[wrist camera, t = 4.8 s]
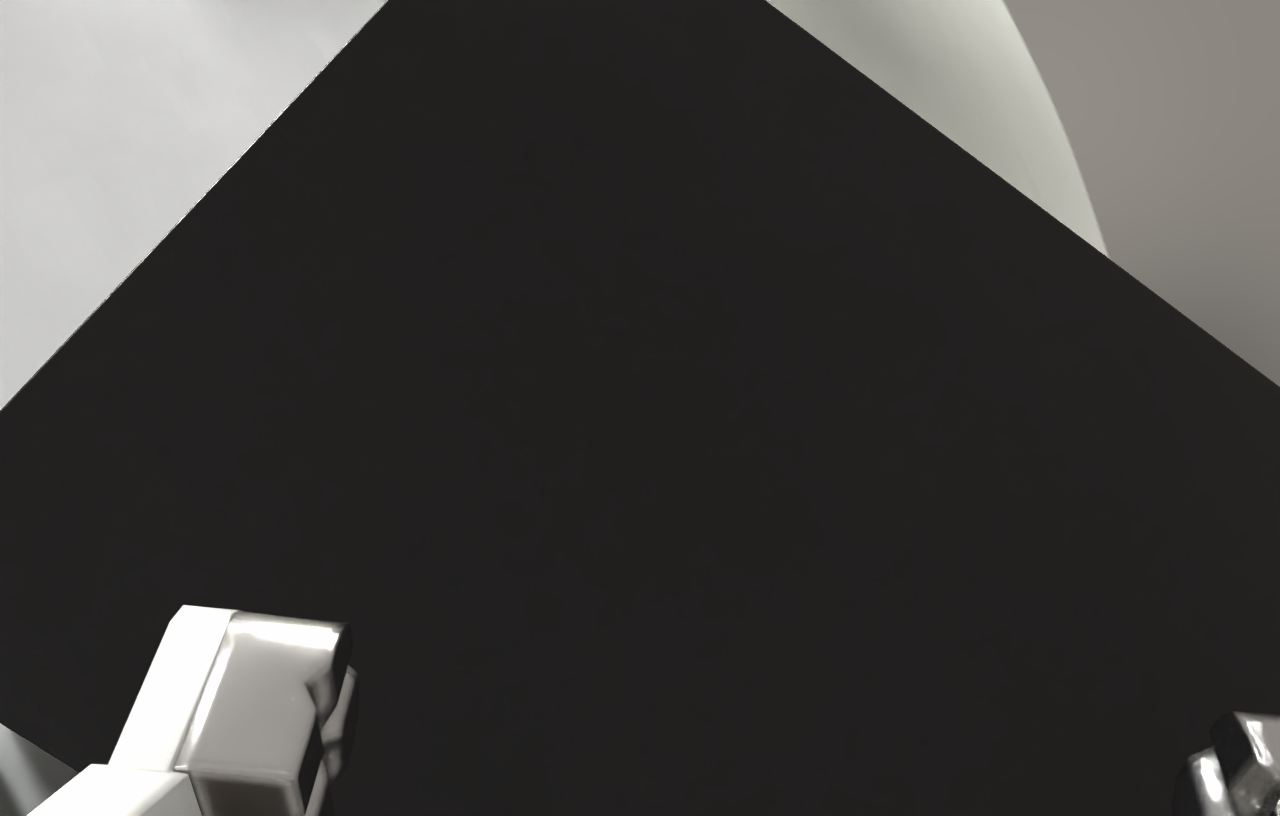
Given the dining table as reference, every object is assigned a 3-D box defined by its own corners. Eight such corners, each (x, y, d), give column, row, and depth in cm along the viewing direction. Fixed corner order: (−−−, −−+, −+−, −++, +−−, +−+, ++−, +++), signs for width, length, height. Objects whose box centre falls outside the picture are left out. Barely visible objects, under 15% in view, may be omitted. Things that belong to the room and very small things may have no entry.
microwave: (755, 1276, 44) (1203, 1639, 24) (-53, 772, 41) (-293, 720, 21) (1019, 626, 56) (1455, 518, 37) (418, 201, 53) (544, -167, 33)
